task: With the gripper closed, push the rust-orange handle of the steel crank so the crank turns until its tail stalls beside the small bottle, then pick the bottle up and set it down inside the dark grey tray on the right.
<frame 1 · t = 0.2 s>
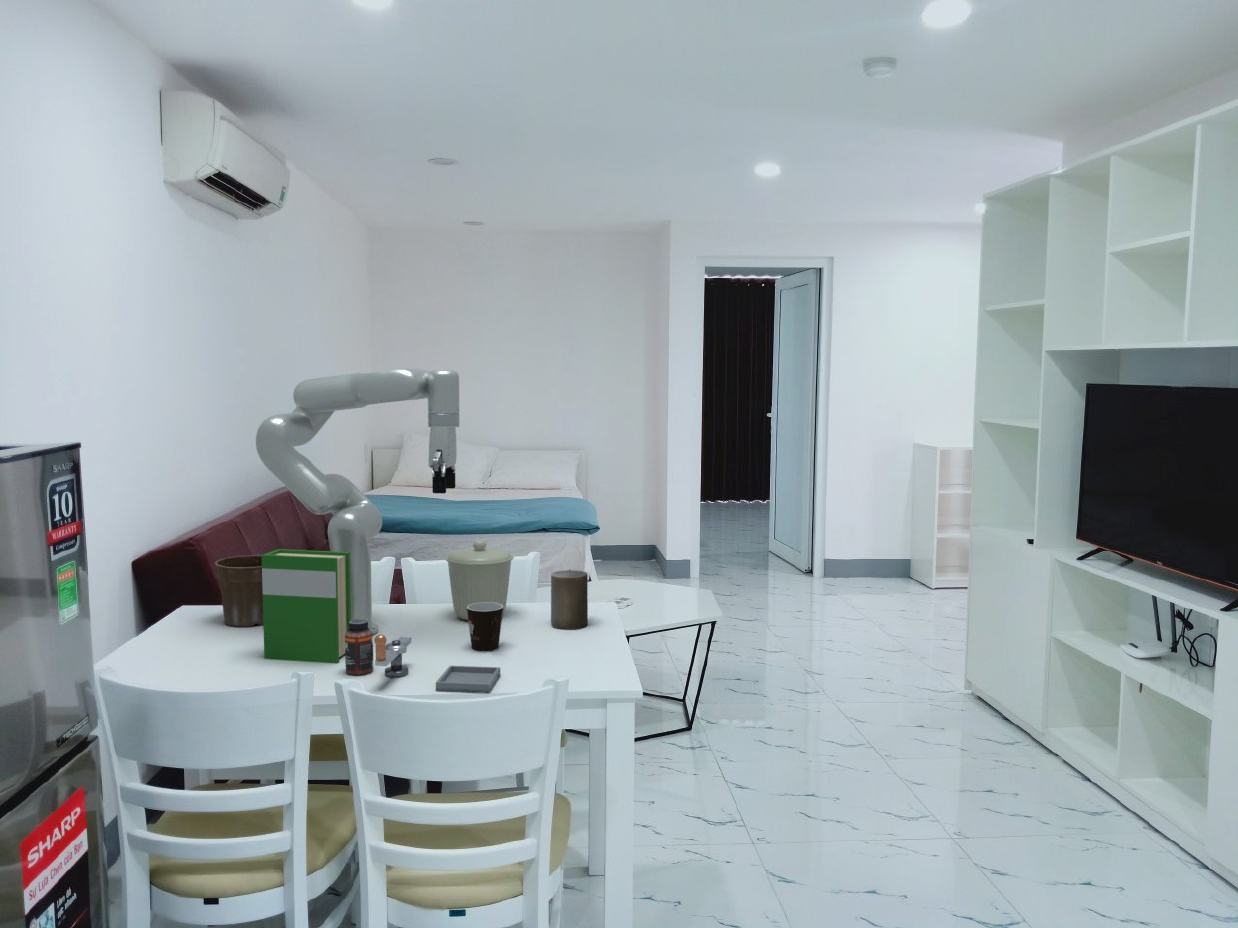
hand: (444, 490, 228), 37 cm above the table, tool pointing down, fingers open, 9 cm apart
hardback book: (308, 657, 214), on the table
coffee mug: (484, 650, 221), on the table
pillar candle: (568, 625, 244), on the table
crank: (393, 639, 200), point 8 cm above the table, hinge at 0.0°
canister: (479, 617, 251), on the table
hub: (396, 673, 203), on the table
supplement bottle: (359, 672, 204), on the table
plant pot: (250, 622, 243), on the table
tray: (468, 682, 197), on the table
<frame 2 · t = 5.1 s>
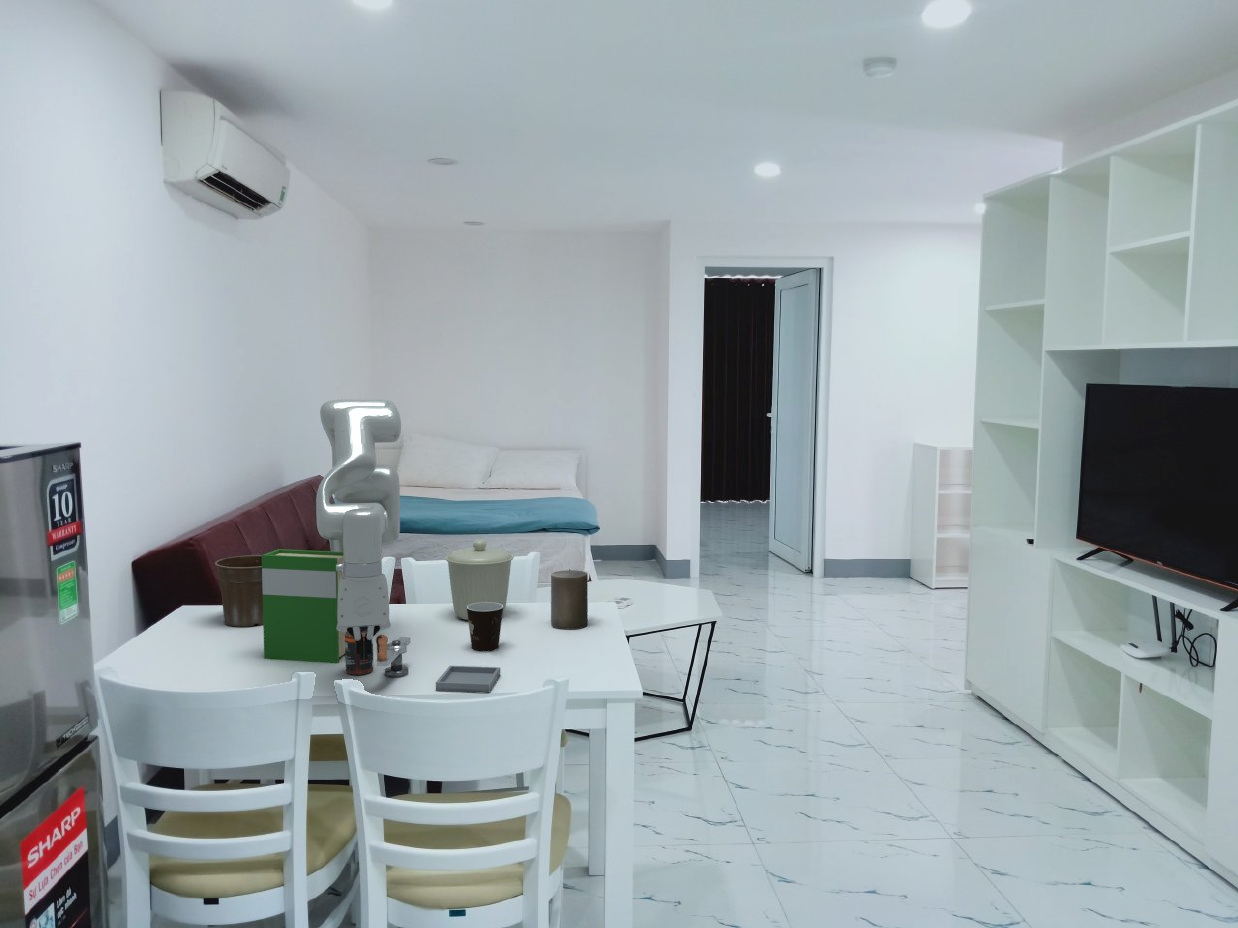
hand: (364, 657, 191), 7 cm above the table, tool pointing down, fingers closed
crank: (393, 639, 200), point 8 cm above the table, hinge at 1.6°, touching gripper
everything else where it was.
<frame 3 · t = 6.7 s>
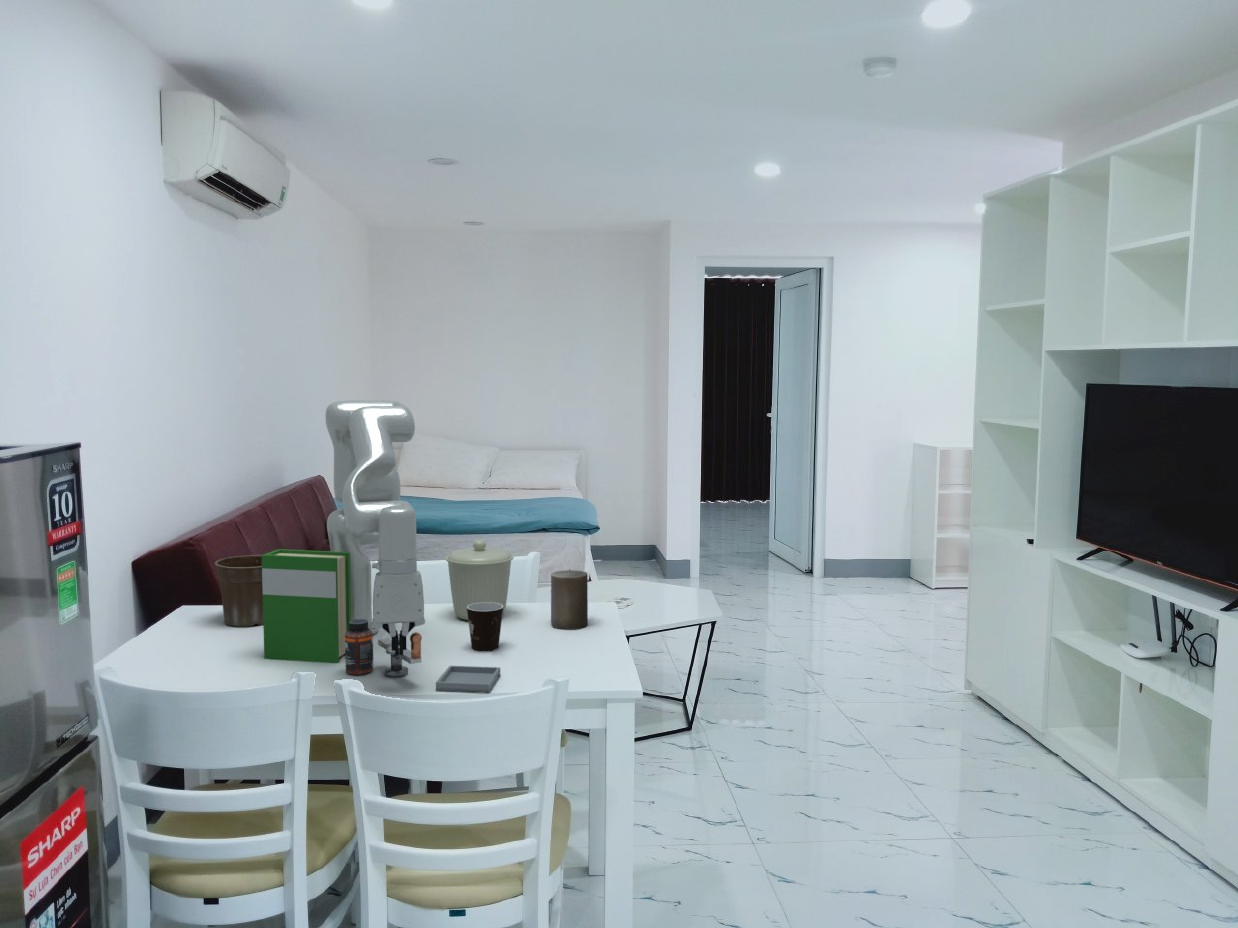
hand: (399, 653, 193), 8 cm above the table, tool pointing down, fingers closed
crank: (400, 638, 200), point 8 cm above the table, hinge at 41.7°, touching gripper
everything else where it was.
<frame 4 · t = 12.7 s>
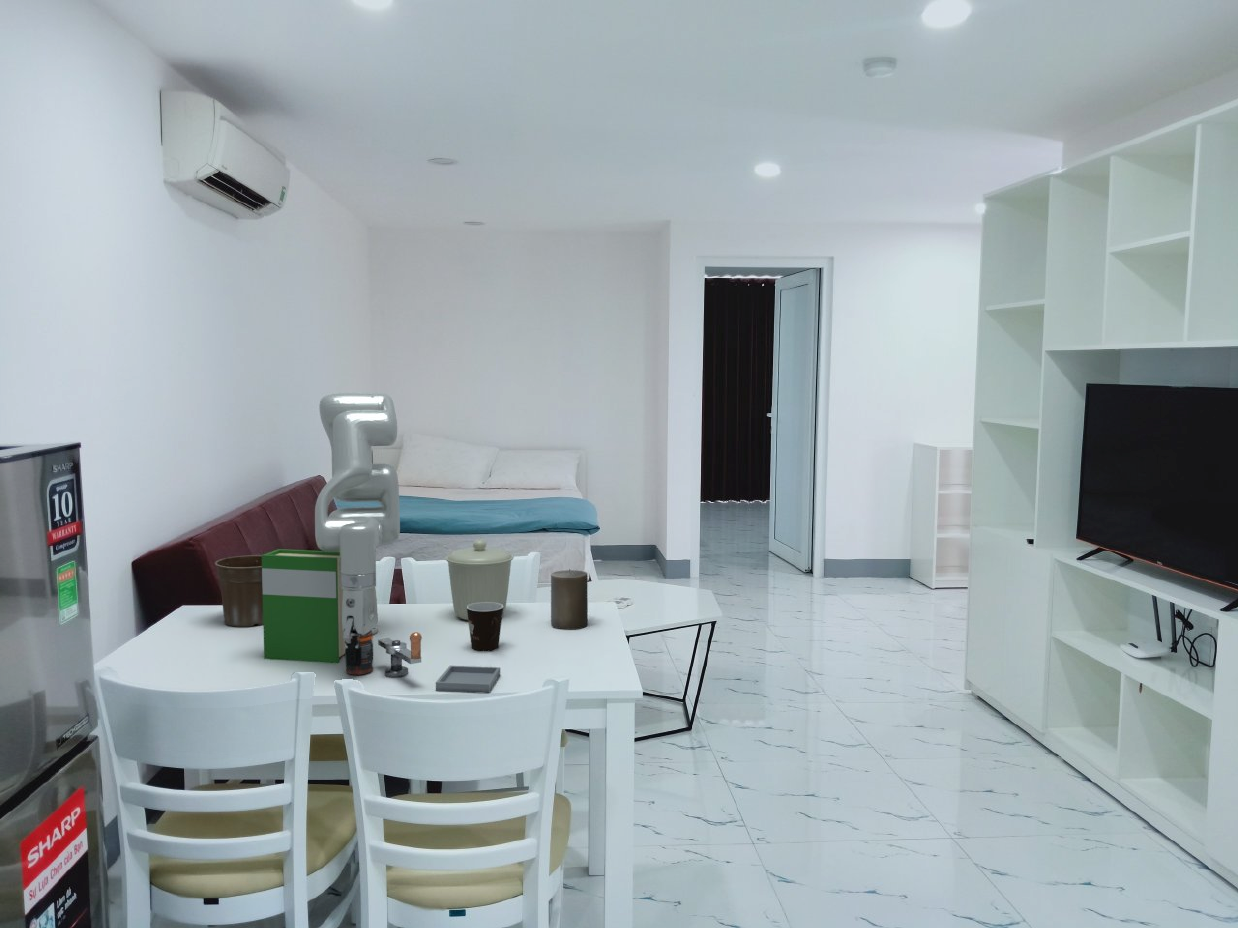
hand: (359, 659, 204), 3 cm above the table, tool pointing down, fingers closed on supplement bottle, 6 cm apart
crank: (400, 638, 200), point 8 cm above the table, hinge at 41.6°
supplement bottle: (359, 672, 204), on the table, touching gripper
everything else where it was.
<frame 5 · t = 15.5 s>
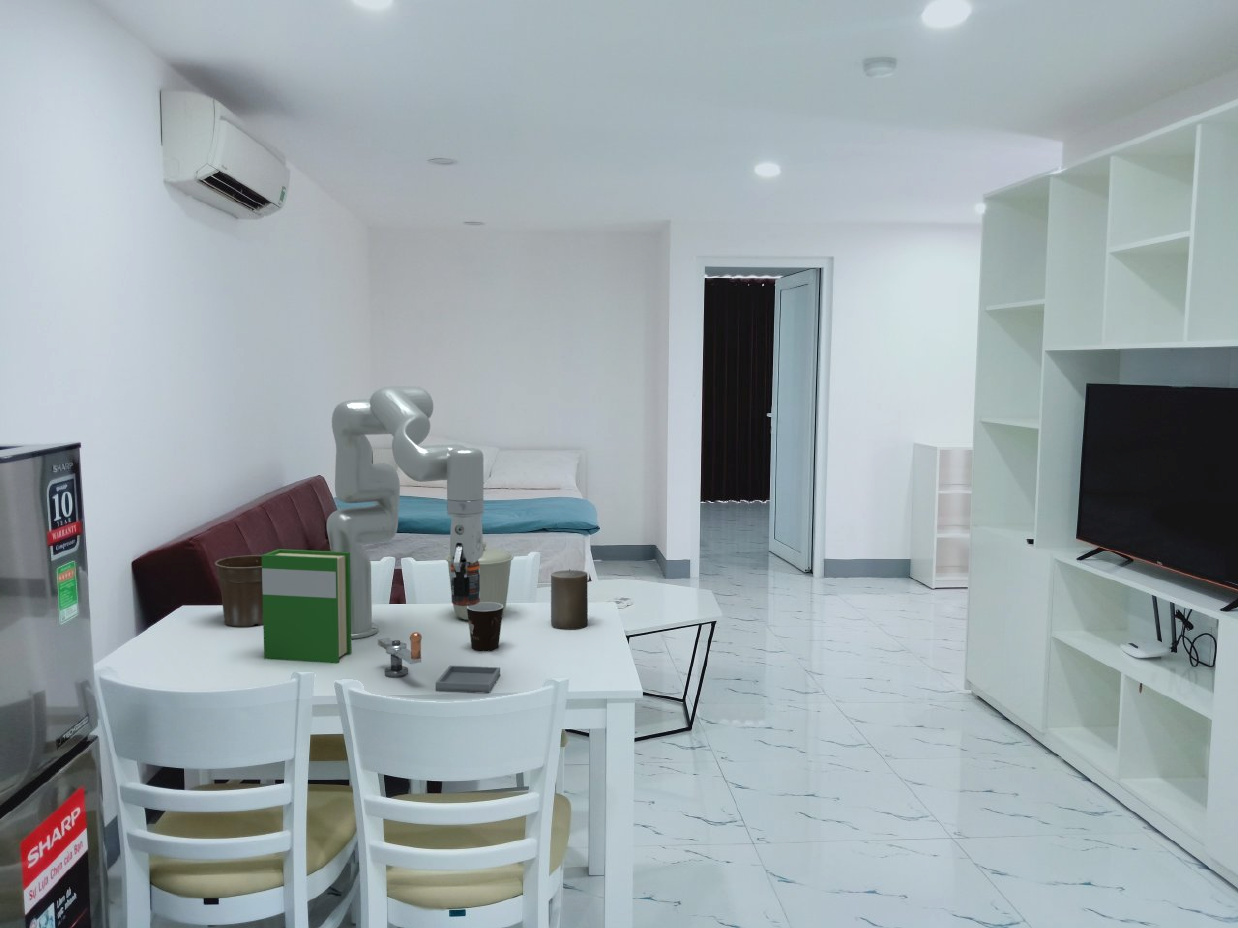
hand: (465, 591, 196), 20 cm above the table, tool pointing down, fingers closed on supplement bottle, 6 cm apart
supplement bottle: (465, 604, 196), point 17 cm above the table, touching gripper
everything else where it was.
when the fingers open (5 cm above the table, at t = 18.8 s): supplement bottle drops 2 cm, resting on tray.
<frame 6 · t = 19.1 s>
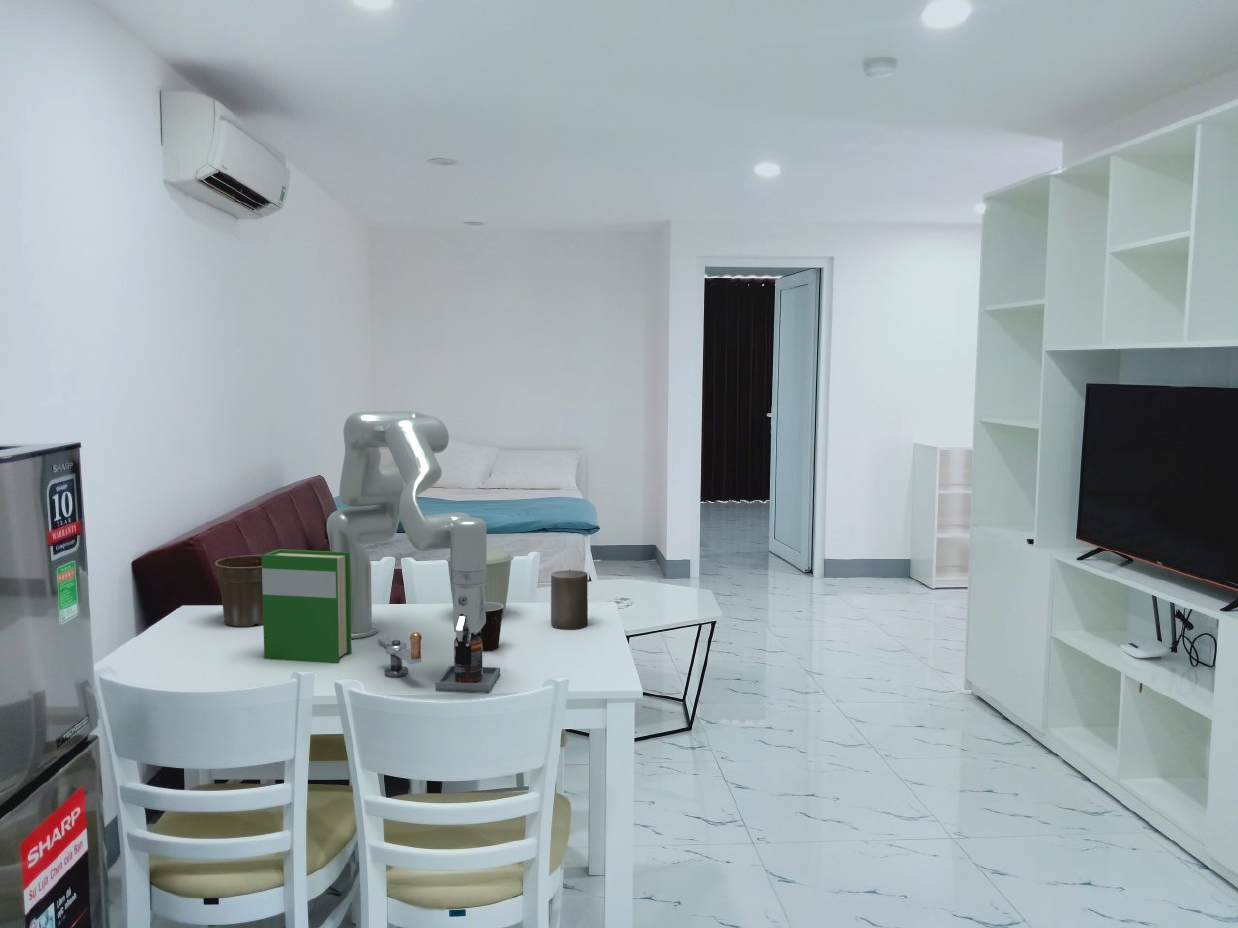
hand: (468, 657, 197), 6 cm above the table, tool pointing down, fingers open, 8 cm apart
supplement bottle: (468, 680, 198), resting on tray
everything else where it was.
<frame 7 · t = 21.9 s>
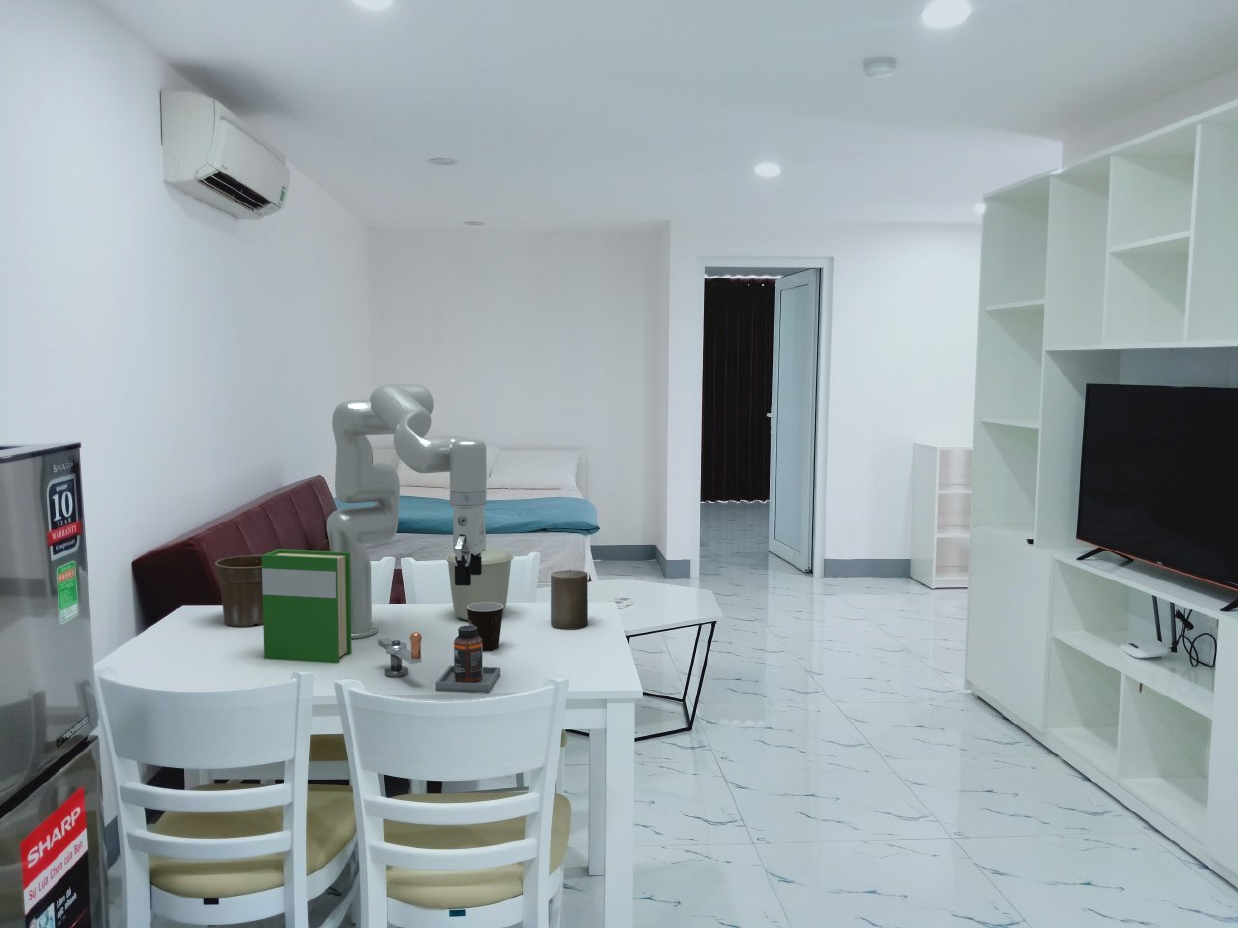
hand: (468, 579, 195), 22 cm above the table, tool pointing down, fingers open, 9 cm apart
nothing on the table moved.
at the end: crank at +42° (first picture: +0°); supplement bottle inside the target area on the tray (0.4 cm from its centre), point 0.4 cm above the tray's base; supplement bottle tilted 0° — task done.
